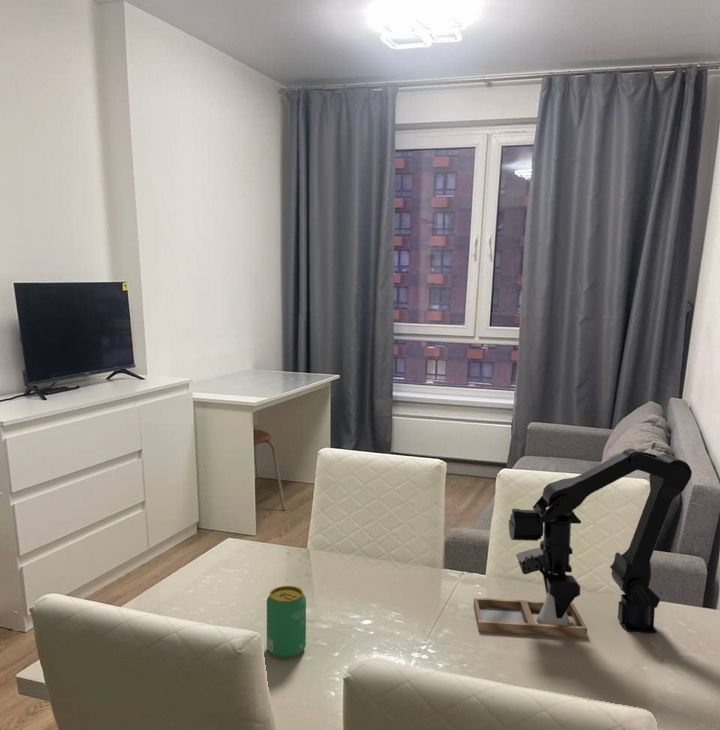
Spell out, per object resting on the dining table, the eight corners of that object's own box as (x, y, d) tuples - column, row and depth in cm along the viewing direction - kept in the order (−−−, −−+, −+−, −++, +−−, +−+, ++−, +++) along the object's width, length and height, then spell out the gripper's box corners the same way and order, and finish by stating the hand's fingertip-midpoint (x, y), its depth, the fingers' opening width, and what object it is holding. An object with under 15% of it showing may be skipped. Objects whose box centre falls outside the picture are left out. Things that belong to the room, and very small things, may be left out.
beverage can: (282, 635, 128) (283, 581, 127) (313, 646, 124) (313, 590, 123) (258, 653, 121) (258, 596, 121) (290, 665, 117) (290, 606, 116)
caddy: (573, 611, 140) (573, 603, 140) (586, 637, 129) (587, 628, 129) (473, 605, 143) (473, 597, 143) (478, 630, 131) (478, 622, 131)
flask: (572, 632, 131) (574, 588, 130) (538, 629, 132) (539, 585, 132) (567, 616, 138) (569, 574, 137) (535, 613, 140) (536, 571, 139)
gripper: (513, 524, 144) (511, 587, 145) (527, 555, 125) (525, 626, 127) (561, 526, 143) (558, 590, 144) (582, 558, 124) (579, 630, 125)
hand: (554, 607), depth 135 cm, fingers open, 9 cm apart
